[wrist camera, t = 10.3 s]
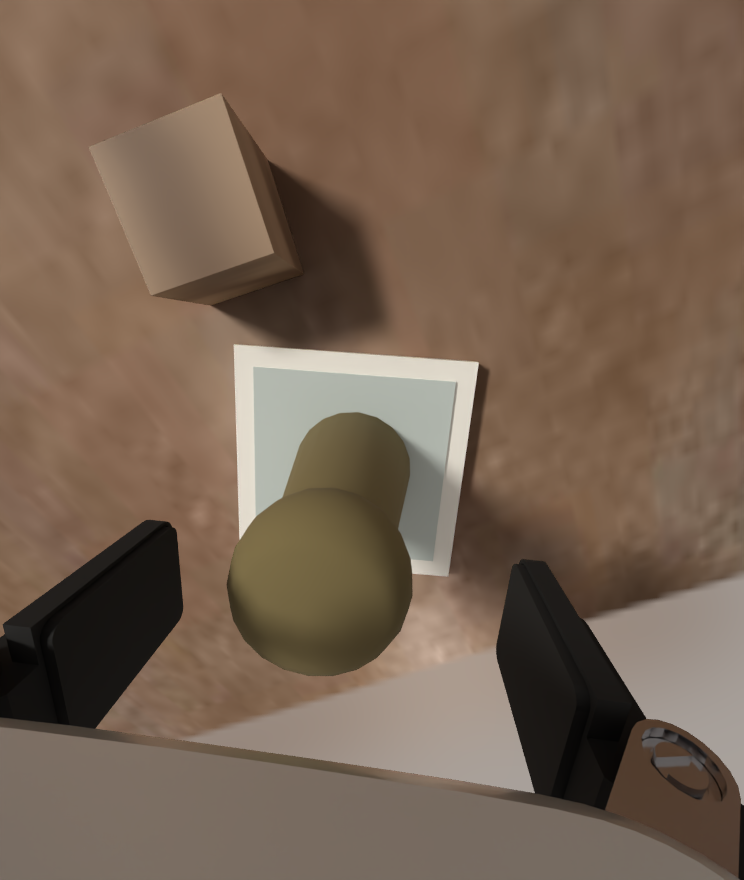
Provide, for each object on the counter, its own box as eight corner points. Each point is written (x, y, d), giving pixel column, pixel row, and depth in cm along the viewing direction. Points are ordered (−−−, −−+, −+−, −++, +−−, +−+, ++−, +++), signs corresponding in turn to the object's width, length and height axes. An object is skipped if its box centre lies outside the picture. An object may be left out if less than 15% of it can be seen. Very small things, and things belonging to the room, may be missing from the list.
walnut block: (268, 160, 17) (220, 92, 12) (304, 274, 18) (274, 253, 14) (170, 198, 18) (88, 147, 13) (211, 305, 19) (150, 295, 14)
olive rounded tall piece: (419, 510, 20) (451, 703, 10) (311, 528, 21) (229, 728, 10) (399, 401, 19) (411, 489, 8) (283, 423, 19) (153, 532, 9)
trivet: (475, 361, 19) (479, 362, 18) (446, 568, 22) (448, 578, 21) (240, 344, 19) (232, 344, 18) (245, 550, 23) (239, 559, 22)
